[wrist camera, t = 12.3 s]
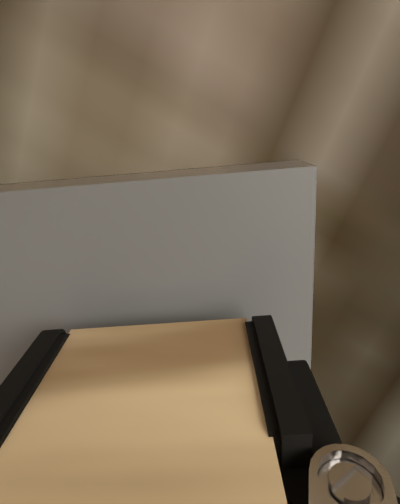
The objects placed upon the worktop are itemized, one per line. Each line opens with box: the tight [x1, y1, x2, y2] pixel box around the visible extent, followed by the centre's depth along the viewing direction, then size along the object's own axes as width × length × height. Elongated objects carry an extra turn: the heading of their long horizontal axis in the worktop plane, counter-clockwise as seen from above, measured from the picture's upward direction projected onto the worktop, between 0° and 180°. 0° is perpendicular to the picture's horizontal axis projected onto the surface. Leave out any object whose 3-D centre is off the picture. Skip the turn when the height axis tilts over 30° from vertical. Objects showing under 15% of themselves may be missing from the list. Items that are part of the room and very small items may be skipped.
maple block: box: [0, 318, 287, 504], centre depth 8 cm, size 5×5×5 cm
